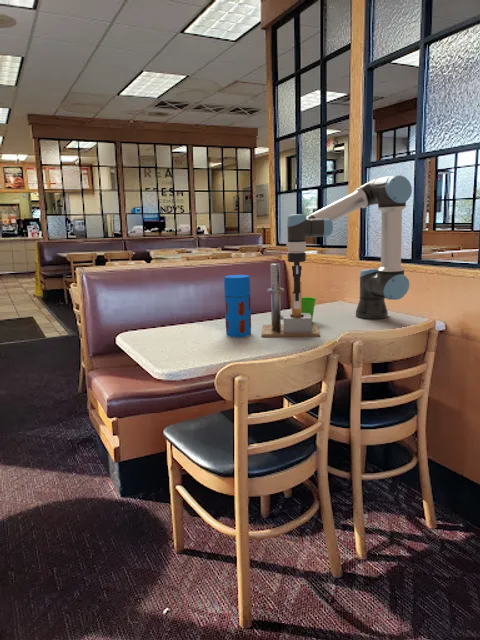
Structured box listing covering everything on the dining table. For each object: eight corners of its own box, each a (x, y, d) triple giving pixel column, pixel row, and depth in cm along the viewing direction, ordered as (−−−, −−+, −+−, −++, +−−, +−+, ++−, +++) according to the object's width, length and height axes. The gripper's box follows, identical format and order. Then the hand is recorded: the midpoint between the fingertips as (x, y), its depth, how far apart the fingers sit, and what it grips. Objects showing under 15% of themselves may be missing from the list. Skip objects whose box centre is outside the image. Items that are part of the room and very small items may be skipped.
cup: (315, 319, 233) (315, 296, 231) (316, 323, 224) (316, 300, 222) (296, 319, 234) (296, 297, 232) (297, 323, 225) (296, 300, 223)
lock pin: (301, 315, 210) (301, 281, 207) (301, 317, 206) (301, 282, 203) (291, 315, 210) (291, 281, 207) (292, 317, 206) (292, 282, 203)
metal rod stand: (316, 326, 218) (316, 261, 212) (319, 336, 201) (319, 265, 195) (263, 327, 220) (261, 262, 214) (261, 337, 203) (260, 267, 197)
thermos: (254, 332, 212) (253, 274, 207) (246, 338, 202) (245, 278, 197) (231, 331, 215) (229, 274, 210) (222, 336, 205) (220, 277, 200)
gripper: (287, 250, 211) (287, 304, 216) (287, 253, 194) (288, 311, 199) (304, 250, 210) (304, 303, 215) (306, 253, 194) (306, 311, 198)
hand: (296, 307), depth 207 cm, fingers closed on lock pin, 4 cm apart
